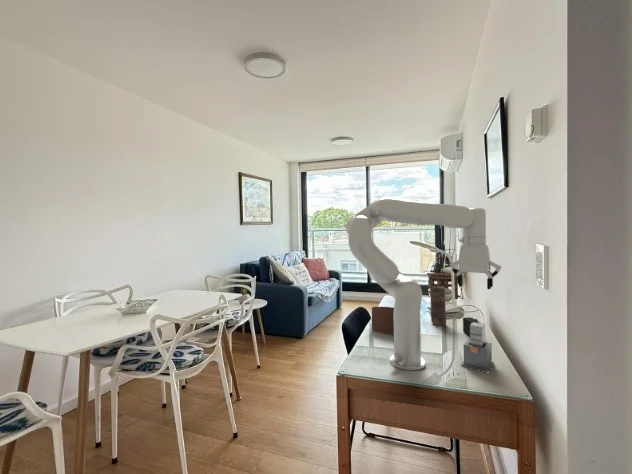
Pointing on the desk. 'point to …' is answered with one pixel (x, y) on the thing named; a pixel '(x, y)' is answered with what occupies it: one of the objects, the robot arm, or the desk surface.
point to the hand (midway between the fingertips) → (474, 287)
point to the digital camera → (468, 324)
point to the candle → (438, 305)
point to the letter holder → (383, 320)
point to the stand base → (478, 357)
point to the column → (477, 334)
